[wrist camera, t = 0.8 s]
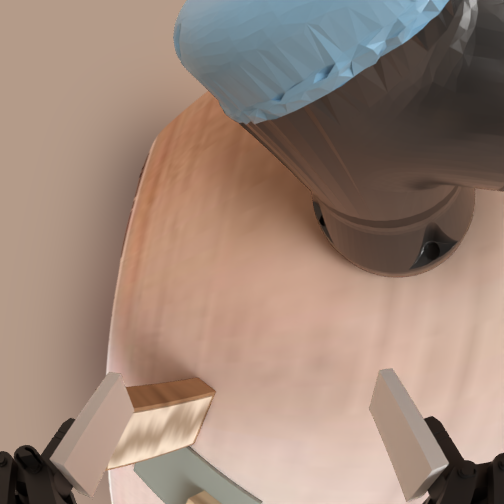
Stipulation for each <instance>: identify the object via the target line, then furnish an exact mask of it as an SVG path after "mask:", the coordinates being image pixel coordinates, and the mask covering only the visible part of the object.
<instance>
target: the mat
mask: <svg viewBox="0 0 504 504" xmlns="http://www.w3.org/2000/svg"><path fill="white" fill-rule="evenodd" d="M134 471H135V472H136V474H137V475H138V476H139V477H140V478H141V479H142V480H143V481H144V482H145V483H146V485H147V486H148V487H149V488H150V489H151V490H152V491H153V492H154V493H155V494H156V495H157V496H158V497H159V498H160V499H161V500H162V501H163V502H164V503H165V504H186V503H187V501H188V499H189V498H190V497H192V496H194V495H196V494H198V493H200V492H202V491H204V490H205V491H206V492H207V493H209V494H210V495H211V496H212V497H214V498H215V499H216V500H218V501H219V502H220V503H222V504H262V501H260V500H259V499H257V498H256V497H254V496H253V495H251V494H250V493H248V492H247V491H245V490H244V489H242V488H241V487H240V486H238V485H237V484H235V483H234V482H233V481H231V480H230V479H228V478H227V477H226V476H224V475H223V474H222V473H221V472H219V471H218V470H217V469H215V468H214V467H213V466H212V465H210V464H209V463H208V462H207V461H205V460H204V459H203V458H202V457H201V456H199V455H198V454H197V453H196V452H195V451H194V450H193V449H191V448H190V447H189V446H187V447H185V448H182V449H179V450H176V451H173V452H170V453H167V454H164V455H161V456H158V457H155V458H152V459H148V460H145V461H142V462H138V463H135V467H134Z"/></svg>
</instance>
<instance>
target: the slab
mask: <svg viewBox="0 0 504 504" xmlns="http://www.w3.org/2000/svg"><path fill="white" fill-rule="evenodd" d="M126 389H127V392H128V395H129V397H130V400H131V403H132V405H133V408H134V412H133V414H132V416H131V418H130V420H129V422H128V424H127V426H126V428H125V430H124V432H123V434H122V436H121V438H120V440H119V442H118V444H117V447H116V449H115V451H114V453H113V455H112V457H111V459H110V461H109V463H108V465H107V467H106V470H111V469H115V468H119V467H123V466H127V465H131V464H134V463H138V462H142V461H145V460H148V459H152V458H155V457H158V456H161V455H164V454H167V453H170V452H173V451H176V450H179V449H182V448H185V447H187V446H190V445H193V444H194V443H195V441H196V438H197V436H198V434H199V431H200V429H201V426H202V424H203V422H204V419H205V417H206V414H207V412H208V409H209V407H210V405H211V402H212V400H213V397H214V395H215V392H216V391H215V390H214V389H212V388H211V387H210V386H208V385H207V384H206V383H204V382H203V381H202V380H200V379H199V378H192V379H186V380H180V381H173V382H166V383H159V384H151V385H142V386H132V387H126ZM96 390H97V389H96ZM106 470H105V471H106Z"/></svg>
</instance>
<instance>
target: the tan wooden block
mask: <svg viewBox="0 0 504 504" xmlns="http://www.w3.org/2000/svg"><path fill="white" fill-rule="evenodd" d="M186 504H222V503H220V502H219V501H218V500H216V499H215V498H214V497H212V496H211V495H210V494H209V493H207V492H206V491H205V490H204V491H202V492H200V493H198V494H196V495H194V496H192V497H190V498H189V499H188V501H187V503H186Z"/></svg>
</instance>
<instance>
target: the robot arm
mask: <svg viewBox="0 0 504 504" xmlns="http://www.w3.org/2000/svg"><path fill="white" fill-rule="evenodd" d="M173 38H174V46H175V51H176V54H177V56H178V58H179V59H180V60H181V63H182V65H183V66H184V67H185V68H186V69H187V70H188V71H189V72H190V73H191V74H192V75H193V76H194V77H195V78H196V79H197V80H198V81H199V82H200V83H201V84H202V85H203V86H205V88H206V89H207V90H208V91H209V92H210V93H211V94H212V95H213V96H214V97H215V98H216V99H217V100H218V101H219V104H220V106H221V107H222V109H223V111H224V113H225V114H226V115H227V116H228V117H230V118H231V119H232V120H234V121H236V122H238V123H239V124H240V125H241V126H243V127H244V128H245V129H246V130H247V131H248V132H249V133H251V134H252V135H253V136H254V137H255V138H256V139H257V140H258V141H259V142H260V143H262V144H263V145H264V146H265V147H266V148H267V149H268V150H269V151H270V152H271V153H272V154H273V155H275V156H276V157H277V158H278V159H279V160H280V161H281V162H282V163H283V164H284V165H285V166H286V167H287V168H288V169H289V170H290V171H291V172H292V173H293V174H294V175H295V176H296V177H297V178H298V179H299V180H300V181H301V182H302V183H303V184H304V185H305V186H306V187H307V188H308V189H309V190H310V191H311V193H312V199H313V206H314V211H315V214H316V218H317V220H318V223H319V225H320V227H321V229H322V231H323V233H324V235H325V236H326V238H327V239H328V241H329V242H330V243H331V244H332V246H333V247H334V248H335V249H336V250H337V251H338V252H339V253H340V254H342V255H343V256H344V257H345V258H346V259H348V260H349V261H350V262H352V263H353V264H354V265H356V266H358V267H359V268H361V269H363V270H365V271H368V272H370V273H373V274H377V275H381V276H387V277H409V276H414V275H418V274H421V273H424V272H427V271H429V270H431V269H433V268H435V267H436V266H438V265H440V264H441V263H442V262H444V261H445V260H446V259H447V258H448V257H449V256H451V255H452V253H453V252H454V251H455V250H456V249H457V247H458V246H459V245H460V243H461V241H462V240H463V238H464V236H465V234H466V232H467V230H468V228H469V226H470V223H471V220H472V217H473V212H474V206H475V188H479V189H487V190H494V191H495V190H497V191H504V0H187V1H186V2H185V4H184V5H183V7H182V9H181V11H180V13H179V15H178V17H177V20H176V23H175V27H174V37H173ZM369 409H370V412H371V414H372V416H373V419H374V421H375V423H376V426H377V428H378V430H379V433H380V435H381V438H382V440H383V443H384V445H385V447H386V450H387V452H388V455H389V457H390V460H391V462H392V465H393V467H394V470H395V473H396V475H397V478H398V480H399V483H400V486H401V488H402V491H403V494H404V496H405V499H406V502H409V501H412V500H415V499H417V498H420V497H422V496H423V495H424V494H425V493H426V492H427V491H428V493H429V495H430V496H429V497H428V498H427V499H426V500H425V501H424V502H423V504H504V453H501V454H499V455H498V456H496V457H495V459H494V460H493V461H492V462H488V463H483V464H475V463H474V462H471V461H469V460H464V459H463V458H462V456H461V454H460V453H459V451H458V449H457V448H456V446H455V444H454V443H453V441H452V439H451V438H450V437H449V435H448V433H447V431H445V428H444V427H443V425H442V423H441V422H440V421H439V420H437V419H436V418H434V417H433V416H431V417H428V418H425V419H423V417H422V415H421V414H420V412H419V410H418V409H417V407H416V405H415V404H414V402H413V400H412V399H411V397H410V396H409V394H408V392H407V391H406V389H405V388H404V386H403V384H402V383H401V381H400V380H399V378H398V376H397V375H396V373H395V372H394V370H393V369H392V368H390V369H385V370H379V372H378V377H377V381H376V385H375V388H374V392H373V396H372V400H371V403H370V407H369ZM133 412H134V408H133V405H132V403H131V400H130V397H129V395H128V392H127V389H126V386H125V384H124V381H123V378H122V375H121V374H120V373H113V372H109V373H108V374H107V376H106V377H105V378H104V380H103V381H102V383H101V384H100V385H99V387H98V388H97V390H96V391H95V393H94V394H93V395H92V397H91V398H90V400H89V401H88V402H87V404H86V405H85V407H84V408H83V410H82V411H81V412H80V414H79V416H78V417H77V418H76V419H72V418H70V419H68V420H67V421H65V422H64V423H63V424H62V425H61V427H60V428H59V430H58V432H56V434H55V435H54V437H53V438H52V440H51V441H50V443H49V444H48V445H47V447H46V449H45V450H44V451H43V453H42V454H41V456H40V454H39V453H38V452H37V450H36V449H35V448H33V447H32V446H29V445H24V446H21V447H19V448H18V449H17V450H16V451H15V453H14V459H13V458H12V456H11V455H10V454H9V453H7V452H4V451H1V452H0V504H77V503H76V501H75V498H74V495H73V493H72V492H71V490H72V488H73V487H74V488H75V489H76V490H77V491H78V492H79V493H81V494H83V495H85V496H88V497H91V498H93V496H94V493H95V491H96V489H97V487H98V485H99V482H100V480H101V478H102V476H103V474H104V471H105V470H106V467H107V465H108V463H109V461H110V459H111V457H112V455H113V453H114V451H115V449H116V447H117V444H118V442H119V440H120V438H121V436H122V434H123V432H124V430H125V428H126V426H127V424H128V422H129V420H130V418H131V416H132V414H133Z"/></svg>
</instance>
